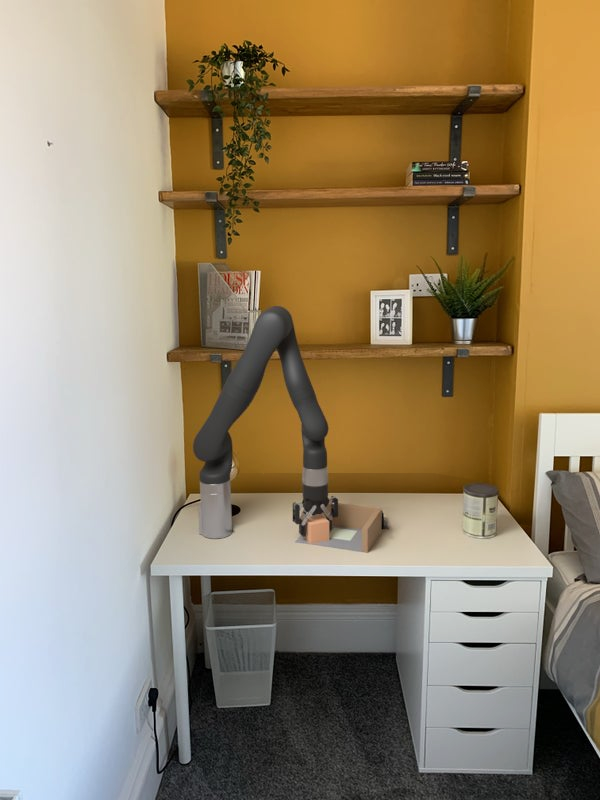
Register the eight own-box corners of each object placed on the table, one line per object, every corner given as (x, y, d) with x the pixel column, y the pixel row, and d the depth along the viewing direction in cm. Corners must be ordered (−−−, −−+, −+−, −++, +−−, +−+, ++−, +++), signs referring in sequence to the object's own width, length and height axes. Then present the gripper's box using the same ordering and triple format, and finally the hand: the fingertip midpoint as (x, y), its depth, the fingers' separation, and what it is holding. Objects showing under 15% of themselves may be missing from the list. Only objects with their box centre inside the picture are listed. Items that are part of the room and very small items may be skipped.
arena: (294, 545, 183) (294, 519, 181) (314, 523, 199) (313, 500, 197) (367, 556, 175) (367, 529, 174) (381, 533, 191) (381, 508, 189)
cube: (310, 544, 181) (310, 524, 180) (302, 536, 187) (302, 517, 185) (329, 540, 184) (329, 521, 183) (320, 532, 189) (320, 514, 188)
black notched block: (364, 518, 204) (364, 505, 203) (385, 517, 205) (386, 504, 204) (370, 533, 192) (370, 519, 191) (393, 532, 192) (393, 518, 192)
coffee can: (468, 523, 198) (470, 480, 195) (500, 530, 192) (503, 486, 189) (456, 534, 189) (458, 490, 187) (490, 541, 184) (492, 496, 181)
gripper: (298, 488, 175) (299, 542, 179) (342, 481, 181) (342, 533, 184) (287, 480, 182) (288, 533, 185) (331, 474, 188) (331, 524, 191)
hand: (315, 533), depth 185 cm, fingers open, 7 cm apart
